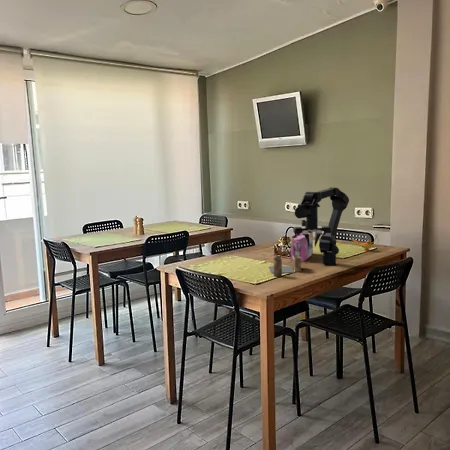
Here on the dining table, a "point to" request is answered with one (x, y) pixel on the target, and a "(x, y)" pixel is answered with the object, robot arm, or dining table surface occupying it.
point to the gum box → (301, 246)
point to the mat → (283, 269)
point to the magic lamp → (367, 244)
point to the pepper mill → (277, 266)
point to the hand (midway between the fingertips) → (312, 246)
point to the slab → (297, 263)
